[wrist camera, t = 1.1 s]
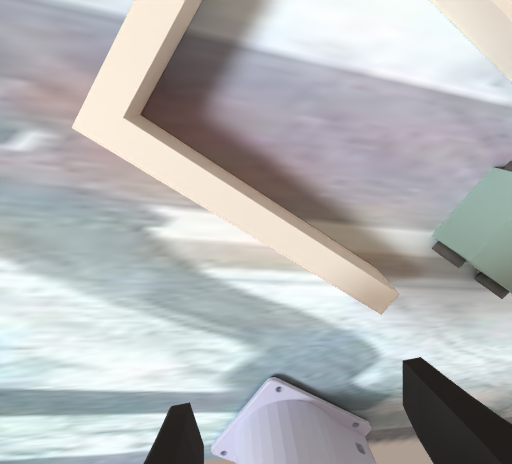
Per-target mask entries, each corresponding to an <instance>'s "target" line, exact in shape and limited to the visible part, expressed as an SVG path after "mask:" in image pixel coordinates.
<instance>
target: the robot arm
mask: <svg viewBox="0 0 512 464" xmlns="http://www.w3.org/2000/svg"><path fill="white" fill-rule="evenodd" d="M277 387H280V388H277ZM403 407H404V409H405V411H406V413H407V415H408V418H409V420H410V422H411V424H412V426H413V428H414V430H415V432H416V434H417V436H418V438H419V440H420V442H421V443H422V445H423V446H424V448H425V450H426V451H427V453H428V455H429V457H430V458H431V460H432V462H433V463H434V464H512V424H510V423H509V422H507V421H506V420H504V419H503V418H501V417H500V416H499V415H497V414H496V413H494V412H493V411H491V410H490V409H489V408H487V407H486V406H485V405H483V404H482V403H480V402H479V401H478V400H476V399H475V398H473V397H472V396H471V395H469V394H468V393H467V392H465V391H464V390H463V389H461V388H460V387H459V386H457V385H456V384H455V383H453V382H452V381H451V380H450V379H448V378H447V377H446V376H444V375H443V374H442V373H440V372H439V371H438V370H437V369H435V368H434V367H433V366H432V365H430V364H429V363H428V362H426V361H425V360H424V359H422V358H421V357H419V358H414V359H409V360H404V361H403ZM371 429H372V427H371V425H370V423H369V422H368V421H366V420H364V419H362V418H360V417H358V416H356V415H354V414H352V413H350V412H347V411H345V410H343V409H341V408H339V407H337V406H335V405H333V404H331V403H329V402H326V401H324V400H322V399H320V398H318V397H316V396H314V395H312V394H310V393H308V392H306V391H303V390H301V389H299V388H297V387H295V386H293V385H291V384H289V383H287V382H285V381H283V380H280V379H278V378H276V377H271V378H269V379H267V380H266V381H265V383H264V384H263V385H262V386H261V387H260V389H259V390H258V391H257V392H256V393H255V395H254V396H253V397H252V398H251V399H250V400H249V402H248V403H247V404H246V405H245V406H244V408H243V409H242V410H241V411H240V412H239V413H238V415H237V416H236V417H235V418H234V419H233V421H232V422H231V423H230V424H229V425H228V426H227V428H226V429H225V430H224V431H223V432H222V434H221V435H220V436H219V437H218V438H217V439H216V441H215V442H214V443H213V444H212V446H211V452H212V453H213V454H214V455H216V456H219V457H222V458H224V459H227V460H230V461H232V462H235V463H236V464H376V462H375V460H374V457H373V455H372V453H371V450H370V448H369V445H368V443H367V441H366V438H365V436H366V435H367V434H368V433H369V432H370V431H371ZM144 464H204V444H203V441H202V438H201V435H200V432H199V429H198V426H197V423H196V420H195V417H194V414H193V411H192V408H191V405H190V403H185V404H180V405H175V406H171V408H170V409H169V411H168V413H167V416H166V418H165V420H164V422H163V425H162V427H161V429H160V431H159V433H158V435H157V438H156V440H155V442H154V444H153V446H152V448H151V450H150V452H149V454H148V456H147V458H146V460H145V462H144Z"/></svg>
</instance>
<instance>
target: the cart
mask: <svg viewBox="0 0 512 464" xmlns="http://www.w3.org/2000/svg"><path fill="white" fill-rule="evenodd" d="M432 237H434V238H435V239H436V240H438V242H437V243H436V244H435V245H434V246H433V248H432V249H433V250H434V251H436V252H437V253H439V254H440V255H441V256H443V257H444V258H446V259H447V260H448V261H450V262H451V263H453V264H454V265H455V266H457V267H458V268H460V267H461V266H462V265H463V264H464V262H465V261H467V262H468V263H469V264H471V265H472V266H473V267H475V268H476V269H477V270H479V271H480V272H481V273H480V274H479V275H478V276H477V277H476V278H475V280H476V281H478V282H479V283H480V284H482V285H483V286H485V287H486V288H487V289H489V290H490V291H492V292H493V293H494V294H496V295H497V296H499V297H500V298H501V299H503V298H504V297H505V296H506V295H507V294H508V293H509V292H510V293H512V162H509V163H508V164H507V165H506V166H505V167H504V168H503V169H499V168H495V167H492V168H491V169H490V170H489V172H488V173H487V174H486V175H485V176H484V177H483V178H482V179H481V181H480V182H479V183H478V184H477V185H476V186H475V187H474V188H473V190H472V191H471V192H470V193H469V194H468V195H467V196H466V198H465V199H464V200H463V201H462V202H461V203H460V204H459V205H458V207H457V208H456V209H455V210H454V211H453V212H452V213H451V214H450V216H449V217H448V218H447V219H446V220H445V221H444V222H443V223H442V225H441V226H440V227H439V228H438V229H437V230H436V231H435V232H434V234H433V235H432Z"/></svg>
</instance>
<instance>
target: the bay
mask: <svg viewBox="0 0 512 464" xmlns="http://www.w3.org/2000/svg"><path fill="white" fill-rule="evenodd" d="M429 1H430V2H431V3H432V4H433V5H434V6H435V7H436V8H437V9H438V10H439V11H440V12H441V13H442V14H443V15H444V16H445V17H446V18H447V19H448V20H449V21H450V22H451V23H452V24H453V25H454V26H455V27H456V28H457V29H458V30H459V31H460V32H461V33H462V34H463V35H464V36H465V37H466V38H467V39H468V40H469V41H470V42H471V43H472V44H473V45H474V46H475V47H476V48H477V49H478V50H479V51H480V52H481V53H482V54H483V55H484V56H485V57H486V58H487V59H488V60H489V61H490V62H491V63H492V64H493V65H494V66H495V67H496V68H497V69H498V70H499V71H500V72H501V73H502V74H503V75H504V76H505V77H506V78H507V79H508V80H509V81H510V82H511V83H512V0H429ZM201 2H202V0H134V2H133V4H132V6H131V8H130V10H129V12H128V14H127V16H126V18H125V21H124V23H123V25H122V27H121V29H120V31H119V33H118V35H117V37H116V39H115V41H114V43H113V45H112V47H111V49H110V51H109V53H108V55H107V57H106V59H105V61H104V63H103V65H102V67H101V69H100V71H99V73H98V75H97V77H96V79H95V82H94V84H93V86H92V88H91V90H90V92H89V94H88V96H87V98H86V100H85V102H84V104H83V106H82V108H81V110H80V112H79V114H78V116H77V118H76V120H75V122H74V124H73V126H72V128H73V129H75V130H76V131H78V132H80V133H81V134H83V135H85V136H86V137H88V138H90V139H91V140H93V141H95V142H96V143H98V144H100V145H101V146H103V147H105V148H106V149H108V150H110V151H111V152H113V153H114V154H116V155H118V156H119V157H121V158H123V159H124V160H126V161H128V162H129V163H131V164H133V165H134V166H136V167H138V168H139V169H141V170H143V171H144V172H146V173H148V174H149V175H151V176H153V177H154V178H156V179H158V180H159V181H161V182H163V183H164V184H166V185H168V186H169V187H171V188H172V189H174V190H176V191H177V192H179V193H181V194H182V195H184V196H186V197H187V198H189V199H191V200H192V201H194V202H196V203H197V204H199V205H201V206H202V207H204V208H206V209H207V210H209V211H211V212H212V213H214V214H216V215H217V216H219V217H221V218H222V219H224V220H226V221H227V222H229V223H230V224H232V225H234V226H235V227H237V228H239V229H240V230H242V231H244V232H245V233H247V234H249V235H250V236H252V237H254V238H255V239H257V240H259V241H260V242H262V243H264V244H265V245H267V246H269V247H270V248H272V249H274V250H275V251H277V252H279V253H280V254H282V255H283V256H285V257H287V258H288V259H290V260H292V261H293V262H295V263H297V264H298V265H300V266H302V267H303V268H305V269H307V270H308V271H310V272H312V273H313V274H315V275H317V276H318V277H320V278H322V279H323V280H325V281H327V282H328V283H330V284H332V285H333V286H335V287H337V288H338V289H340V290H341V291H343V292H345V293H346V294H348V295H350V296H351V297H353V298H355V299H356V300H358V301H360V302H361V303H363V304H365V305H366V306H368V307H370V308H371V309H373V310H375V311H376V312H378V313H380V314H382V313H383V312H384V311H385V310H386V309H387V308H388V306H389V305H390V304H391V303H392V302H393V301H394V300H395V299H396V298H397V297H398V295H399V293H398V292H397V291H396V290H395V289H394V287H393V286H392V285H391V284H390V283H389V282H388V281H387V280H386V279H385V278H384V276H383V275H382V274H381V273H380V272H379V271H378V270H377V269H376V268H375V267H373V266H372V265H370V264H369V263H367V262H366V261H364V260H363V259H361V258H359V257H358V256H356V255H355V254H353V253H352V252H350V251H349V250H347V249H346V248H344V247H343V246H341V245H339V244H338V243H336V242H335V241H333V240H332V239H330V238H329V237H327V236H326V235H324V234H323V233H321V232H319V231H318V230H316V229H315V228H313V227H312V226H310V225H309V224H307V223H306V222H304V221H303V220H301V219H300V218H298V217H296V216H295V215H293V214H292V213H290V212H289V211H287V210H286V209H284V208H283V207H281V206H280V205H278V204H276V203H275V202H273V201H272V200H270V199H269V198H267V197H266V196H264V195H263V194H261V193H260V192H258V191H257V190H255V189H253V188H252V187H250V186H249V185H247V184H246V183H244V182H243V181H241V180H240V179H238V178H237V177H235V176H233V175H232V174H230V173H229V172H227V171H226V170H224V169H223V168H221V167H220V166H218V165H217V164H215V163H213V162H212V161H210V160H209V159H207V158H206V157H204V156H203V155H201V154H200V153H198V152H197V151H195V150H194V149H192V148H190V147H189V146H187V145H186V144H184V143H183V142H181V141H180V140H178V139H177V138H175V137H174V136H172V135H170V134H169V133H167V132H166V131H164V130H163V129H161V128H160V127H158V126H157V125H155V124H154V123H152V122H151V121H149V120H147V119H146V118H144V117H143V116H141V115H140V114H141V112H142V110H143V108H144V106H145V105H146V103H147V101H148V99H149V97H150V95H151V94H152V92H153V90H154V88H155V86H156V84H157V83H158V81H159V79H160V77H161V75H162V73H163V72H164V70H165V68H166V66H167V64H168V62H169V61H170V59H171V57H172V55H173V53H174V51H175V50H176V48H177V46H178V44H179V42H180V40H181V39H182V37H183V35H184V33H185V31H186V29H187V28H188V26H189V24H190V22H191V20H192V18H193V17H194V15H195V13H196V11H197V9H198V7H199V6H200V4H201Z"/></svg>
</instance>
